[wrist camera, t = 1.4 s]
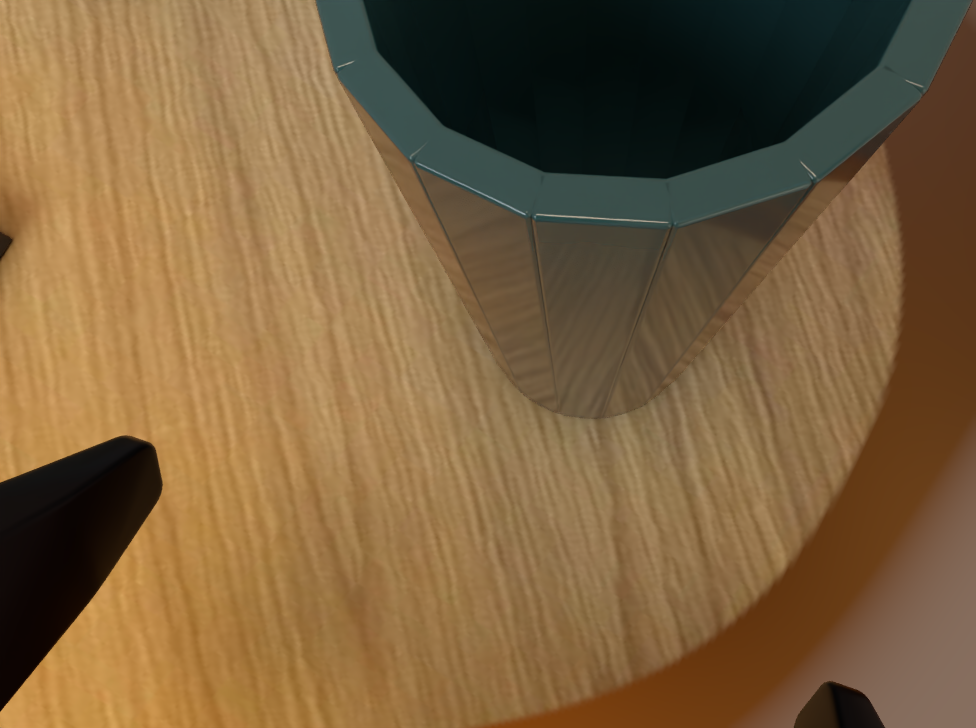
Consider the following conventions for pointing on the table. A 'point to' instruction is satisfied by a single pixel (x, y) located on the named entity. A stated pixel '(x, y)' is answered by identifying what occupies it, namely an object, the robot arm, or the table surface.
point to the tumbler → (624, 159)
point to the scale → (4, 242)
